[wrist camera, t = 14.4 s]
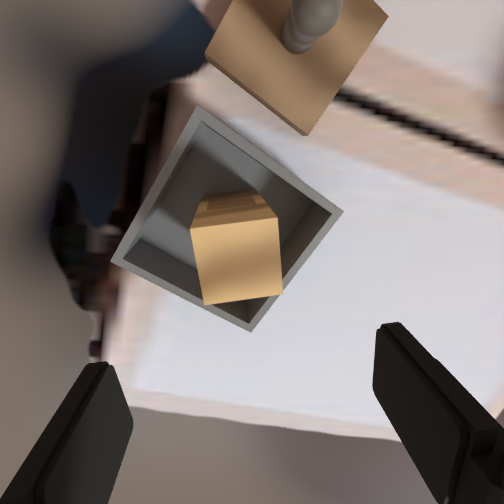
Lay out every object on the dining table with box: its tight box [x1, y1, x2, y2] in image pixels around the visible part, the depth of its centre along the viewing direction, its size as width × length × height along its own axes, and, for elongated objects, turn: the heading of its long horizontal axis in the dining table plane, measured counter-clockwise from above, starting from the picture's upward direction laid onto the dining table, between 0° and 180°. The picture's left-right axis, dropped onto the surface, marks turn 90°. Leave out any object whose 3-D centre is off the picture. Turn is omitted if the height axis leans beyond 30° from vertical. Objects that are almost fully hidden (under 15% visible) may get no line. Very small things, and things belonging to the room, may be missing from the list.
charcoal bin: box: [110, 105, 344, 332], centre depth 29 cm, size 16×16×7 cm
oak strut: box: [190, 189, 283, 305], centre depth 26 cm, size 6×6×13 cm
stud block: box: [205, 0, 389, 136], centre depth 23 cm, size 12×12×9 cm
